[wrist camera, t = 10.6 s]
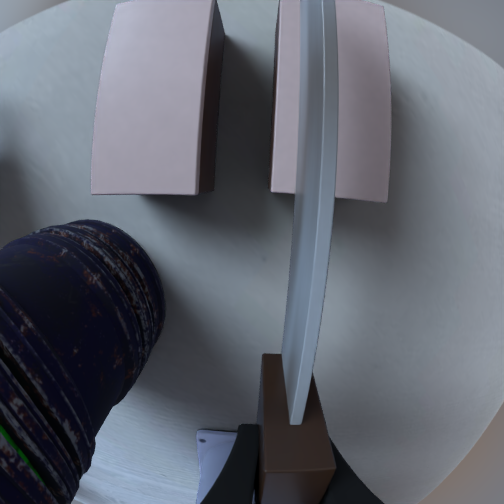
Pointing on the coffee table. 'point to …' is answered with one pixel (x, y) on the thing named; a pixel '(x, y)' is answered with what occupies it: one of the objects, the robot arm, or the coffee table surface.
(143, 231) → the coffee table surface
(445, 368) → the coffee table surface
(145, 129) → the block
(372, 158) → the cake slice
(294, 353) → the knife
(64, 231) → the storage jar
